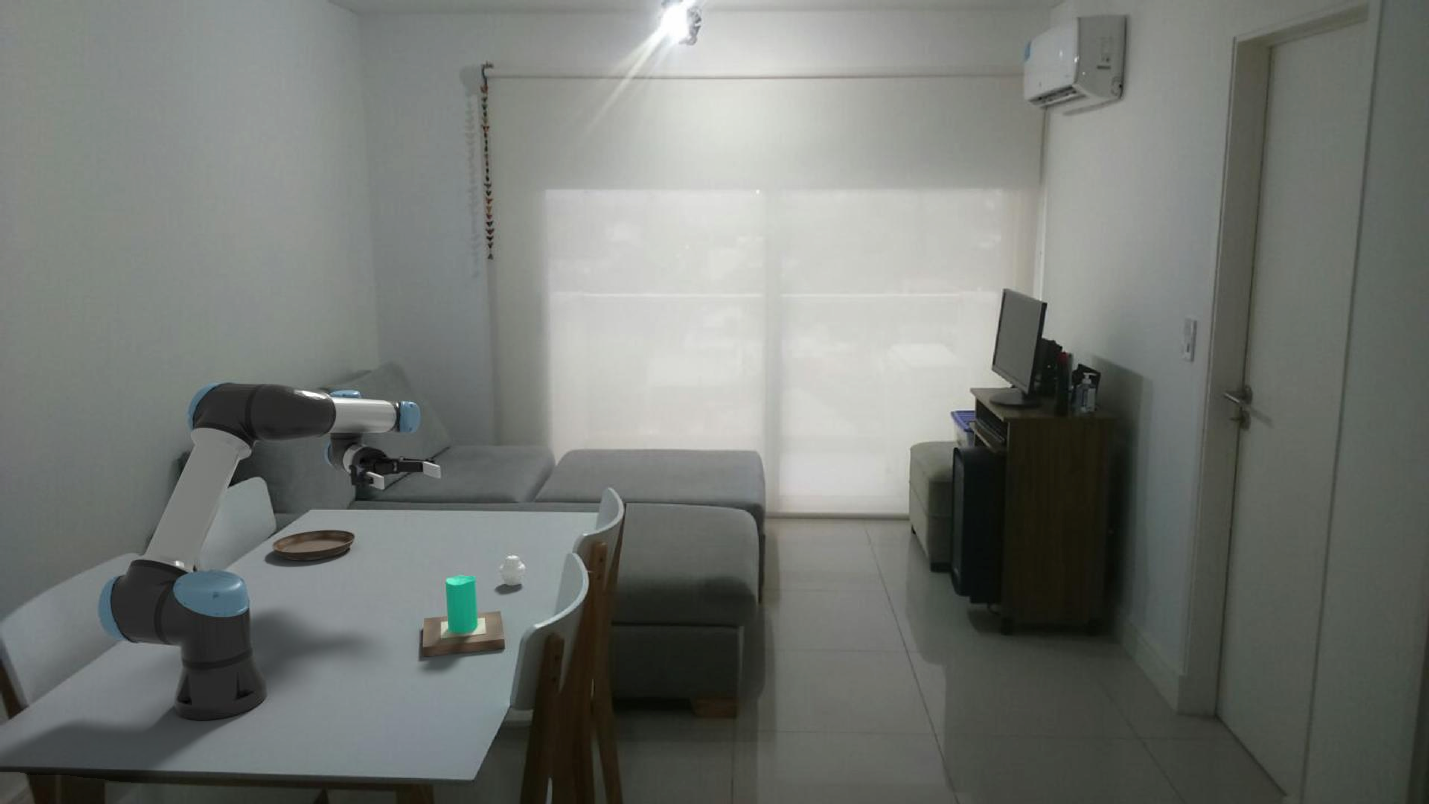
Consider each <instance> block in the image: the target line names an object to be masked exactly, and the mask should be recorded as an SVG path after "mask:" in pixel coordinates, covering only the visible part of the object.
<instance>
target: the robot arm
mask: <svg viewBox="0 0 1429 804" xmlns="http://www.w3.org/2000/svg"><path fill="white" fill-rule="evenodd" d="M361 396H362V395H361V393H360V392H359V391H358V390H353V389H352V390H351V389H348V390H347V389H346V390H345V389H344V390H337V391H332V392H331V393H329V394H328V393H325V392H323V391H318V390H309V389H305V388H301V387H295V386H290V385H284V384H279V383H278V384H277V383H240V382H239V383H238V382H233V381H224V382H214V383H210V384H207V385H205V386H203V387H201V388H200V389H199V390H198V391H197V392H195V394H194V396H193V397H192V399H191V400H190V403H189V404H188V405H189V406H188V410H187V416H189V417H188V418H187V425H188V427H189V430H190V431H191V433H190V438H191V440H192V442H193V444H194V446H193V448H192V450H191V452H190V455H189V457H188V459H187V461H186V463H185V465H184V468H183V470H182V472H181V475H180V477H179V479H178V481H177V483H176V485H175V488H174V490H173V492H172V493H171V494H172V495H171V497H170V498H169V500H168V503H167V505H166V507H165V509H164V510H163V511H164V512H163V513H162V516H161V518H160V520H159V523H158V524H157V527H156V529H155V531H154V532H153V533H154V534H153V536H152V538H151V540H150V542H149V544H148V546H147V549H146V551H145V553H144V554H143V555H141V556H138V557H136V558H134V559H132V561H130V564H129V566H128V569H127V570H126V573H125V574H120V575H117V576H116V575H115V576H114V577H113V578H111V579H109V580H107V582H106V583H105V584H104V585H103V587H102V589H101V591H100V594H99V596H98V597H99V598H98V603H97V615H98V618H99V621H100V623H99V624H100V626H101V628H102V629H103V630H104V632H105V633H106V634H107V635H108V636H109V637H111V638H112V639H114V640H118V641H124V642H128V643H131V644H153V645H163V646H164V645H165V646H174V647H175V646H176V647H179V648H180V656H181V657H180V658H181V672H180V675H179V679H178V683H177V687H176V691H175V695H174V707H175V712H176V714H177V715H178V716H180V717H182V718H185V719H187V720H197V721H198V720H199V721H205V720H207V721H208V720H209V721H210V720H217V719H223V718H227V717H231V716H236V715H239V714H242V713H245V712H246V711H249V710H252V709H253V708H255V707H257V706H258V705H260V704H261V703H263V701H264V700H265V699H266V698H267V695H268V688H267V687H268V686H267V681H266V678H265V676H264V674H263V672H262V670H261V667H260V665H259V664H258V662H257V660H256V658H255V655H254V650H253V649H254V647H253V636H252V635H253V634H252V622H251V608H250V605H251V602H250V596H249V594H248V593H249V592H248V588H247V584H246V581H245V580H244V579H243V578H242V577H241V576H240V575H238V574H235V573H233V572H232V571H231V572H230V571H225V570H219V569H218V570H217V569H213V570H212V569H211V570H207V571H206V570H196V571H194V570H193V569H194V566H195V564H196V562H197V560H198V557H199V555H200V553H201V550H202V548H203V546H204V543H205V541H206V539H207V536H208V534H209V531H210V530H211V527H212V524H213V522H214V520H215V517H216V515H217V514H218V510H219V509H220V506H221V504H222V501H223V499H224V497H225V494H226V492H227V490H228V488H229V486H230V483H231V481H232V478H233V476H234V473H235V471H236V470H237V469H236V468H237V466H238V464H239V462H240V461H241V460H244V459H247V458H249V457H250V456H251V454H252V452H253V450H254V447H255V445H256V443H258V442H266V443H268V442H269V443H272V442H273V443H275V442H286V441H293V440H301V439H309V438H321V437H324V436H326V435H328V434H329V442H328V443H327V444H326V446H325V449H324V451H323V452H324V453H323V454H324V455H323V456H324V460H325V461H326V463H327V464H328V465H330V467H331V468H334V469H335V470H337V471H340V472H343V473H344V472H345V473H346V474H347V473H348V477H350V482H351V486H353V487H354V486H357V485H358V483H360V484H359V485H360V488H361V489H363V488H364V489H365V488H367V485H368V486H369V487H370V486H371V487H372V488H376V489H378V490H381V491H382V490H385V477H384V476H388V475H399V474H400V473H423V475H426V476H429V477H432V478H435V479H442V474H441V472H442V471H441V466H440V465H438V464H436V459H434V458H430V457H426V458H422V457H409V456H404V455H401V456H399V458H397V457H396V458H395V457H394V458H393V457H392V458H391V457H388V455H387V454H386V453H385V452H384V451H383V450H381V449H379V448H377V447H376V448H375V447H372V446H371V445H367V444H364V433H365V434H366V433H369V434H371V433H372V434H373V433H374V434H375V433H379V434H381V433H382V434H400V435H401V434H403V435H404V434H413V433H415V432H417V430H418V428H419V425H420V424H421V412H420V411H421V410H420V408H419V406H418V404H416V403H415V402H413V401H406V400H401V401H400V400H385V399H383V400H382V399H368V398H362V397H361ZM395 469H396V470H395Z"/></svg>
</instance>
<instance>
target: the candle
mask: <svg viewBox="0 0 1429 804" xmlns="http://www.w3.org/2000/svg"><path fill="white" fill-rule="evenodd" d="M461 573H462V572H461V571H460V572H459V574H458V575H455V576H452V577H447V578H446V580H445V590H446V591H445V592H446V593H445V595H446V613H447V615H446V616H448V630H450V631H451V632H455V633H466V632H470V631H473V630H475V629H477V626H478V620H477V613H478V604H477V603H478V602H477V584H476V582H477V581H476V576H474V575H467V576H466V575H462V574H461Z"/></svg>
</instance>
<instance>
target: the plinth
mask: <svg viewBox="0 0 1429 804" xmlns="http://www.w3.org/2000/svg"><path fill="white" fill-rule="evenodd" d="M477 620H478V626H477V629H475V630H473V631H470V632H466V633H455V632H451V631H450V630H448V615H446V616H433V617H426V618H425V617H424V618H423V634H422V657H432V655H435V656H443V655H452V654H463V653H462V652H464V653H470V652H471V653H472V652H481V651H480V650H483V651H492V650H499V649H498V648H502V649H505V648H506V643H505V641H506V639H505V632H504V626H503V620H502V613H501V611H500V610H497V611H495V610H494V611H488V612H477Z"/></svg>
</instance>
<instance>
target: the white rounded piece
mask: <svg viewBox="0 0 1429 804" xmlns="http://www.w3.org/2000/svg"><path fill="white" fill-rule="evenodd" d="M498 569H499V573H500V577H501V578H502V580H503V581H504V583H505V585H507V586H511V587H512V586H517V585H520V584H521V581H522V580H523V578H524V576H525V572H526V566H525V565H524V563H522V561H520V557H519V556H516V555H509V556H506V557H505V559H504V562H503V564H501V565H500V567H499V568H498Z"/></svg>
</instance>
